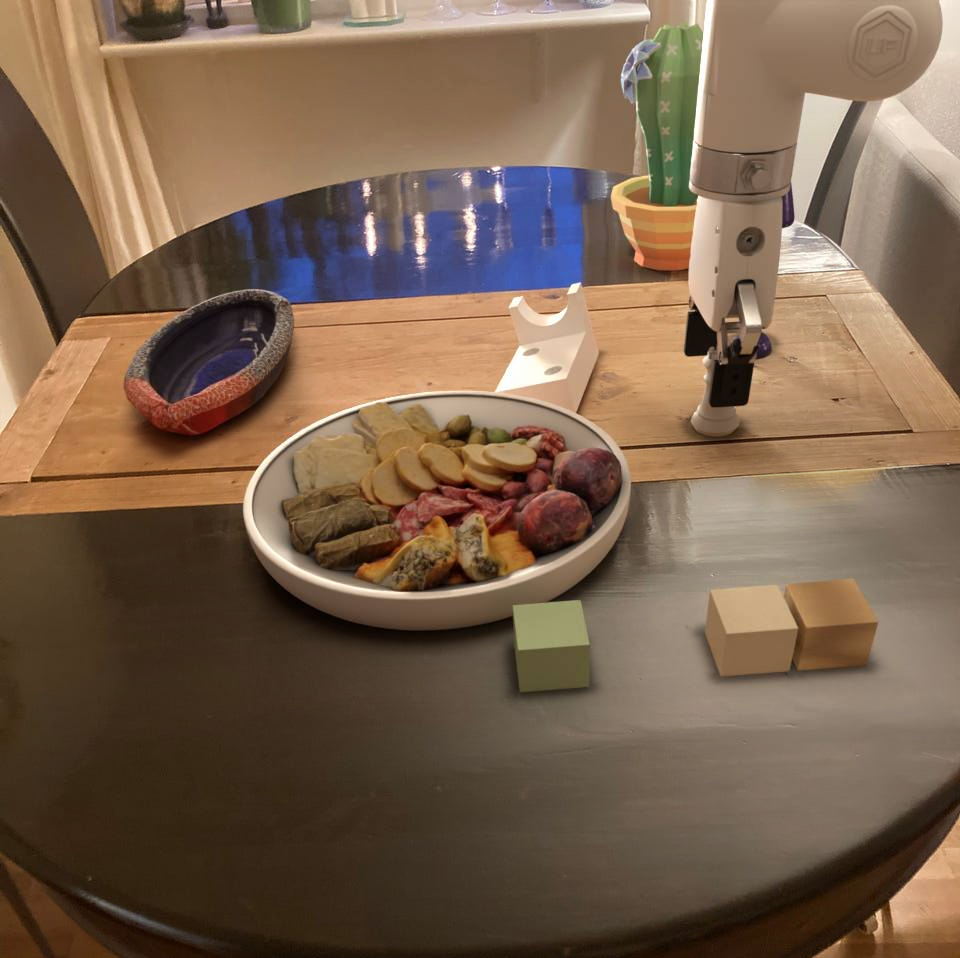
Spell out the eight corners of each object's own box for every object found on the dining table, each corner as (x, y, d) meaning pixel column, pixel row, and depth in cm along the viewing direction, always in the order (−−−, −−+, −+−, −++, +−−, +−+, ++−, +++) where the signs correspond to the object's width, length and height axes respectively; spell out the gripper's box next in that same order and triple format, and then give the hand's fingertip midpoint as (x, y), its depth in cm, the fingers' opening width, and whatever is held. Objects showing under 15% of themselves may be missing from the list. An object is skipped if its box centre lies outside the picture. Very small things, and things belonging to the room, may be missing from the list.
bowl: (201, 644, 68) (172, 555, 63) (313, 437, 91) (297, 358, 86) (623, 664, 64) (628, 570, 59) (631, 441, 86) (635, 359, 81)
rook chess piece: (714, 452, 84) (724, 367, 79) (678, 434, 87) (685, 350, 82) (749, 435, 86) (761, 351, 81) (712, 418, 89) (721, 335, 84)
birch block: (841, 630, 65) (854, 578, 63) (864, 674, 62) (879, 621, 59) (775, 635, 65) (785, 583, 63) (795, 680, 62) (806, 627, 59)
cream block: (768, 635, 65) (778, 584, 63) (787, 680, 62) (798, 628, 59) (703, 641, 66) (709, 589, 63) (719, 686, 62) (726, 633, 59)
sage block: (580, 650, 66) (580, 599, 63) (589, 696, 62) (590, 644, 59) (514, 655, 66) (512, 605, 63) (520, 701, 62) (517, 650, 59)
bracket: (534, 366, 101) (514, 297, 97) (598, 353, 99) (580, 282, 94) (505, 425, 92) (481, 352, 88) (575, 413, 89) (554, 337, 85)
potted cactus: (631, 232, 128) (640, 12, 112) (745, 243, 123) (773, 13, 106) (590, 272, 118) (593, 37, 102) (712, 286, 113) (737, 39, 96)
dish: (327, 323, 111) (320, 280, 108) (243, 458, 88) (230, 409, 85) (201, 323, 113) (190, 281, 110) (87, 455, 91) (69, 407, 87)
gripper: (828, 199, 65) (785, 424, 77) (759, 134, 78) (732, 335, 90) (719, 206, 65) (692, 430, 76) (669, 140, 78) (652, 339, 89)
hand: (713, 378), depth 83 cm, fingers open, 9 cm apart
